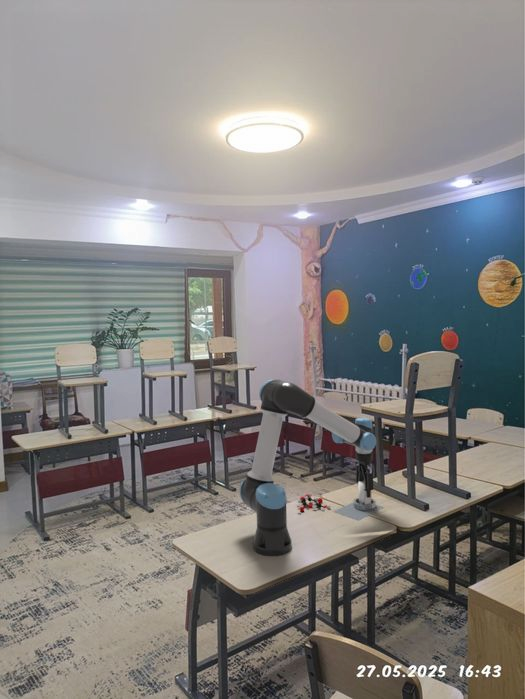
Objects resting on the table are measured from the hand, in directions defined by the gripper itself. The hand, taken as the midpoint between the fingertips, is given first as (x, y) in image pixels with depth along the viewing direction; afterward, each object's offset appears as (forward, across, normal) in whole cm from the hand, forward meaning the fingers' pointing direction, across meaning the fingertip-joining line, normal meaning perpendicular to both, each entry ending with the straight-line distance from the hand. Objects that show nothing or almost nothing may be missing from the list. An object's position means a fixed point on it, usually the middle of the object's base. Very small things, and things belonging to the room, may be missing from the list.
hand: (364, 501), depth 226 cm
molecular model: (+4, +9, +22) cm, 24 cm away
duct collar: (+3, 0, 0) cm, 3 cm away
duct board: (+4, -2, +4) cm, 6 cm away
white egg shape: (+1, 0, 0) cm, 1 cm away
